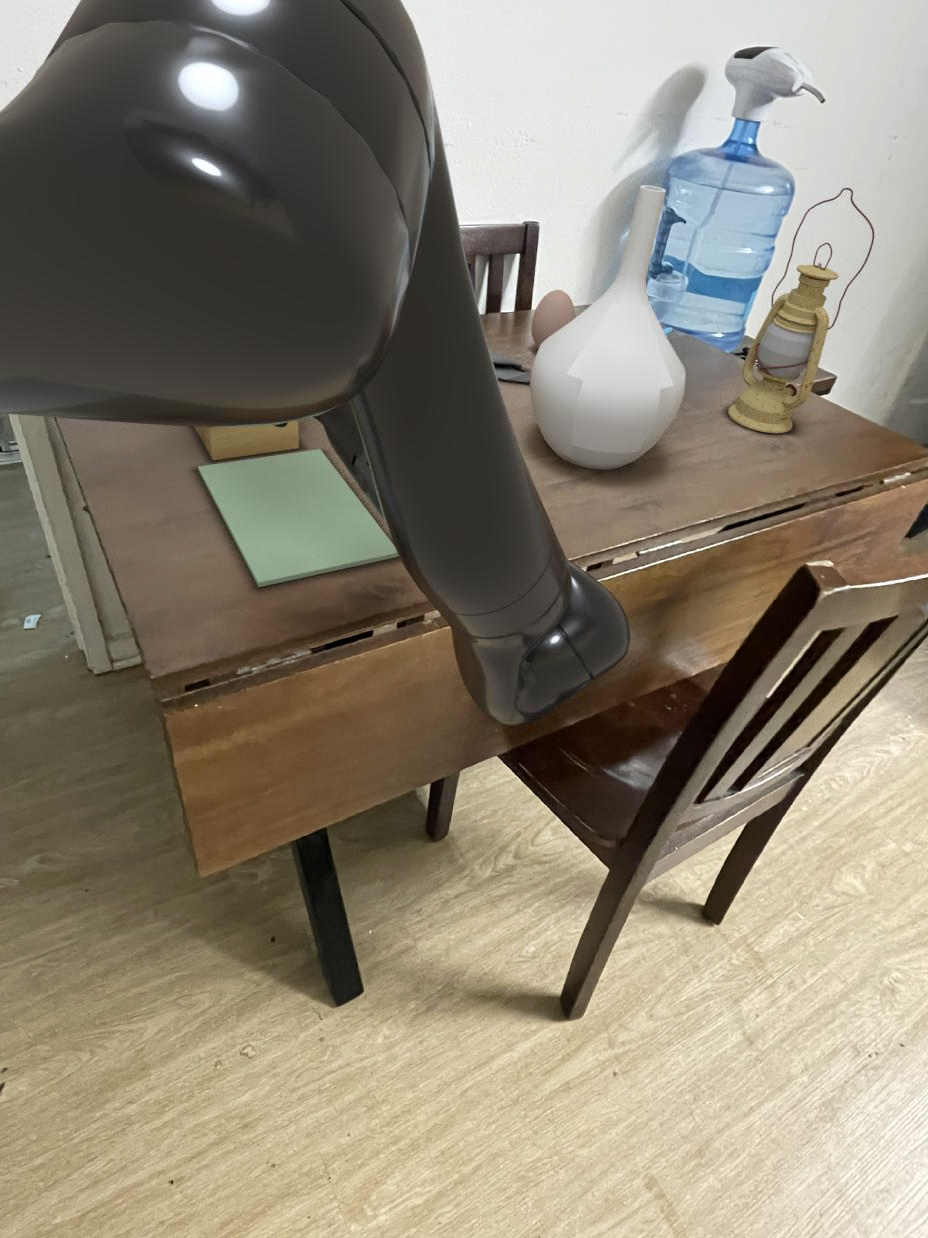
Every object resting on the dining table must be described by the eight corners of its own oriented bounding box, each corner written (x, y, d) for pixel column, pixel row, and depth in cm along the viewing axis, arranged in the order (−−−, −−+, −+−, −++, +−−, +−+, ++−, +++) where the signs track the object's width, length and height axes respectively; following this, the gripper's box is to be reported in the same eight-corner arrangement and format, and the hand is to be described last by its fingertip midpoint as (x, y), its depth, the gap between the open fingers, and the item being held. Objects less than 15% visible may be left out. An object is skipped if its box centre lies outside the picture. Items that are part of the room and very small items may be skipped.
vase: (523, 480, 89) (574, 196, 69) (516, 412, 103) (557, 160, 83) (675, 495, 90) (766, 220, 71) (647, 426, 104) (717, 181, 85)
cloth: (370, 337, 118) (371, 323, 116) (437, 324, 125) (438, 310, 124) (482, 401, 104) (485, 386, 103) (550, 382, 112) (553, 367, 110)
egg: (521, 344, 123) (531, 282, 116) (560, 345, 125) (571, 283, 118) (535, 361, 118) (546, 297, 112) (575, 361, 120) (588, 298, 113)
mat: (399, 557, 74) (399, 551, 74) (258, 587, 68) (258, 582, 68) (320, 453, 88) (320, 448, 88) (198, 471, 82) (197, 466, 82)
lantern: (815, 433, 108) (919, 200, 89) (768, 442, 104) (866, 200, 85) (754, 398, 116) (837, 177, 97) (708, 406, 112) (786, 175, 92)
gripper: (503, 402, 53) (388, 262, 58) (325, 433, 45) (212, 266, 50) (467, 478, 59) (366, 343, 64) (303, 517, 51) (203, 359, 56)
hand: (298, 310), depth 57 cm, fingers open, 8 cm apart
